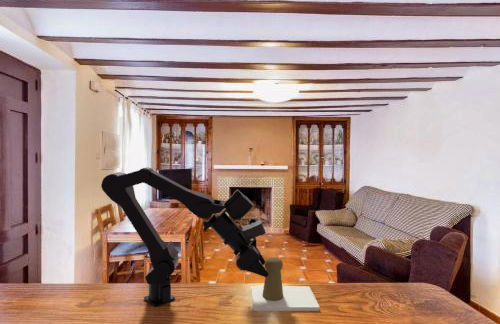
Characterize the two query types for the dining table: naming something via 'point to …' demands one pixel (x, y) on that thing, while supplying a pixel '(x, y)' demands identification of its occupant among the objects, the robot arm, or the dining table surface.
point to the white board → (285, 300)
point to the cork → (273, 280)
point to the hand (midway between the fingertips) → (266, 269)
